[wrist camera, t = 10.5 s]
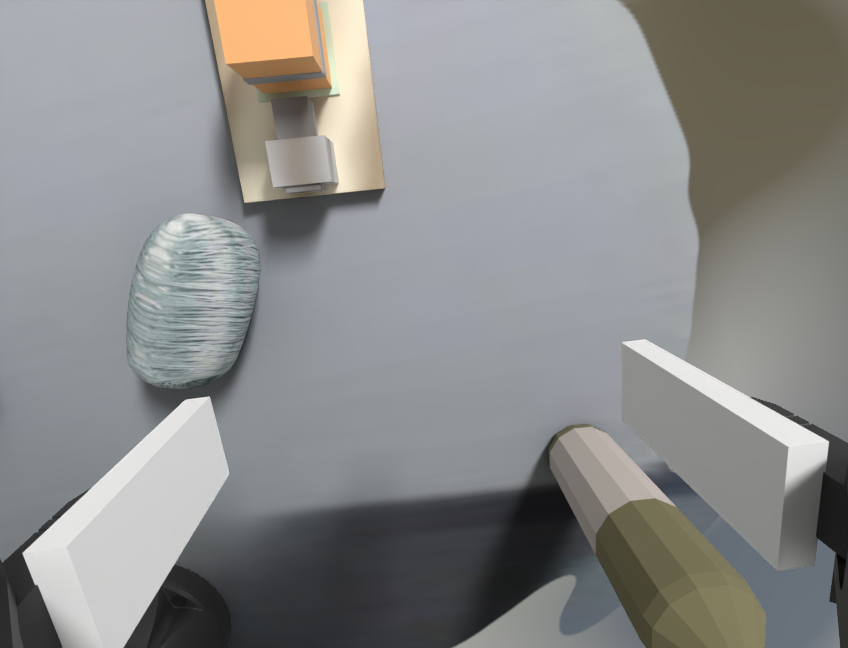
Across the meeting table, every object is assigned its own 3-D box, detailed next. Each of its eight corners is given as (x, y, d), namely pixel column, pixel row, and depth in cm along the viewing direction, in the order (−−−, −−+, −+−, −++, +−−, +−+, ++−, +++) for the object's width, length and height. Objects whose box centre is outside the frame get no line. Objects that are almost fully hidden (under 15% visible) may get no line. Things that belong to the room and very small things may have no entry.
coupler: (249, 15, 33) (204, -40, 26) (323, 9, 33) (300, -48, 26) (263, 95, 35) (224, 65, 27) (333, 88, 35) (315, 57, 27)
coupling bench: (250, 202, 38) (224, 203, 32) (193, -91, 33) (151, -152, 27) (385, 188, 38) (382, 186, 33) (350, -105, 33) (340, -168, 28)
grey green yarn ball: (246, 410, 39) (146, 412, 30) (167, 363, 42) (53, 353, 33) (314, 261, 40) (236, 217, 30) (231, 226, 43) (136, 176, 33)
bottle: (534, 476, 46) (761, 944, 17) (551, 411, 44) (837, 809, 15) (601, 485, 47) (931, 951, 18) (621, 422, 45) (1021, 822, 16)
